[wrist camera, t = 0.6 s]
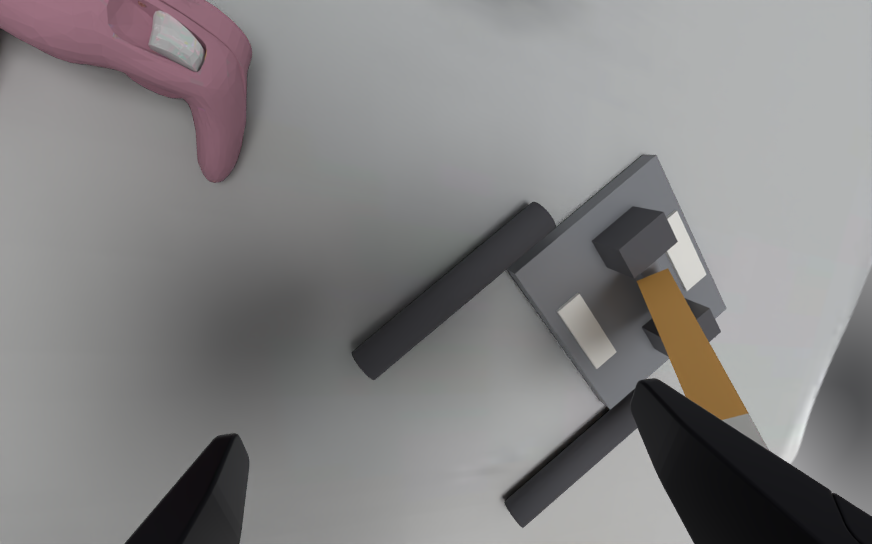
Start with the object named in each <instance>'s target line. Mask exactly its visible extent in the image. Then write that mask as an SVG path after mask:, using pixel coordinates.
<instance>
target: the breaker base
mask: <svg viewBox="0 0 872 544" xmlns="http://www.w3.org/2000/svg"><path fill="white" fill-rule="evenodd" d="M655 261H657V263H658V265H659V266H660V268H661V270H665V269H667V268H668V269H669V271H670V273H671V275H672V277H673V278H674V280H675V282H676V284H677V286H678V287H679V289H680V291H681V293H682V295H683V296H684V298H685V300H686V302H687V304H688V305H689V307H690V309H691V311H692V313H693V314H694V316H695V318H696V320H697V322H698V323H699V325H700V327H701V329H702V331H703V332H704V334H705V336H706V338H707V340H708V341H709V342H710V341H711V340H712V339H713V338H714V337H716V336H717V335H718V334H719V333H720V332H721V331H720V329H719V327H718V324H717V322H716V320H715V318H716V317H718V316H719V315H720V314H721V313H722V312H723V311H724V310H726V306H725V304H724V302H723V300H722V298H721V295H720V293H719V291H718V289H717V287H716V285H715V282H714V280H713V278H712V276H711V274H710V271H709V269H708V267H707V265H706V263H705V260H704V258H703V256H702V254H701V252H700V249H699V247H698V245H697V243H696V241H695V239H694V236H693V234H692V232H691V230H690V228H689V225H688V223H687V221H686V219H685V217H684V214H683V212H682V210H681V208H680V206H679V203H678V201H677V199H676V197H675V195H674V193H673V190H672V188H671V186H670V184H669V182H668V179H667V177H666V175H665V173H664V171H663V168H662V166H661V164H660V162H659V160H658V157H657V155H642V156H641V157H640V158H638V159H637V160H636V161H635V162H634V163H632V164H631V165H630V166H629V167H628V168H626V169H625V170H624V171H623V172H622V173H620V174H619V175H618V176H617V177H616V178H615V179H613V180H612V181H611V182H610V183H609V184H607V185H606V186H605V187H604V188H603V189H601V190H600V191H599V192H598V193H597V194H595V195H594V196H593V197H592V198H591V199H589V200H588V201H587V202H586V203H585V204H583V205H582V206H581V207H580V208H579V209H578V210H576V211H575V212H574V213H573V214H572V215H570V216H569V217H568V218H567V219H566V220H564V221H563V222H562V223H561V224H560V225H558V226H557V227H556V228H555V229H554V230H553V231H552V232H550V233H549V234H548V235H547V236H546V237H544V238H543V239H542V240H541V241H540V242H538V243H537V244H536V245H535V246H534V247H532V248H531V249H530V250H529V251H528V252H526V253H525V254H524V255H523V256H522V257H521V258H519V259H518V260H517V261H516V262H515V263H513V264H512V265H511V266H510V267H509V268H507V270H508V272H509V273H510V274H511V276H512V277H513V279H514V280H515V281H516V283H517V284H518V286H519V287H520V288H521V290H522V291H523V293H524V294H525V296H526V297H527V298H528V300H529V301H530V303H531V304H532V305H533V307H534V308H535V310H536V311H537V312H538V314H539V315H540V317H541V318H542V320H543V321H544V322H545V324H546V325H547V327H548V328H549V329H550V331H551V332H552V334H553V335H554V336H555V338H556V339H557V341H558V342H559V343H560V345H561V346H562V348H563V349H564V351H565V352H566V353H567V355H568V356H569V358H570V359H571V360H572V362H573V363H574V365H575V366H576V367H577V369H578V370H579V372H580V373H581V375H582V376H583V377H584V379H585V380H586V382H587V383H588V384H589V386H590V387H591V389H592V390H593V391H594V393H595V394H596V396H597V397H598V399H599V400H600V401H601V402H602V403H603V404H604V405H605V406H607V407H608V408H609V409H610V410H611V409H612V408H613V407H614V406H615V405H616V404H617V403H619V402H620V401H621V400H622V399H623V398H624V397H626V396H627V395H628V394H629V393H630V392H631V391H632V390H634V389H635V387H636V384H637V382H638V381H640V380H644V379H646V378H647V377H649V376H650V375H651V374H652V373H653V372H654V371H655V370H657V369H658V368H659V367H660V366H661V365H662V364H663V363H665V362H666V361H667V360H668V359H669V356H668V354H667V351H666V349H665V347H664V344H663V342H662V340H661V337H660V335H659V333H658V330H657V328H656V326H655V323H654V321H653V319H652V316H651V314H650V312H649V309H648V307H647V304H646V302H645V300H644V297H643V295H642V293H641V290H640V288H639V286H638V283H637V281H638V280H640V279H643V277H642V275H641V273H642V272H643V271H644V270H645V269H647V268H648V267H649V266H650V265H651V264H652V263H654V262H655Z"/></svg>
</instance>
